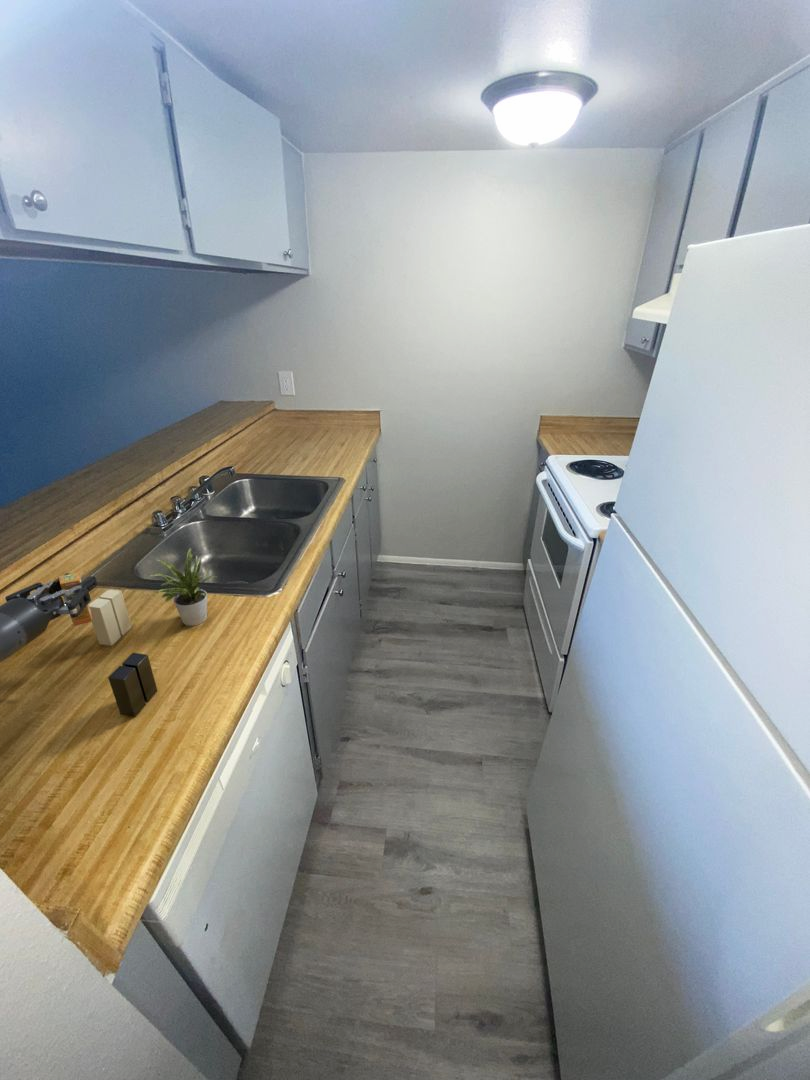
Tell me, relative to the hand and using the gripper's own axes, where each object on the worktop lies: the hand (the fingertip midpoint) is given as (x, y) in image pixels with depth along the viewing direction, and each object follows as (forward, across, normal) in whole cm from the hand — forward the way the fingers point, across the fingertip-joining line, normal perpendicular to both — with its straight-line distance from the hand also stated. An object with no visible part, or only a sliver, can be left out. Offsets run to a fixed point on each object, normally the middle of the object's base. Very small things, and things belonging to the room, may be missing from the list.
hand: (82, 578), depth 92 cm
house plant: (+14, -12, +18) cm, 25 cm away
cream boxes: (+4, +1, +17) cm, 18 cm away
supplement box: (-3, 0, +8) cm, 9 cm away
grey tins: (-12, -16, +18) cm, 27 cm away
